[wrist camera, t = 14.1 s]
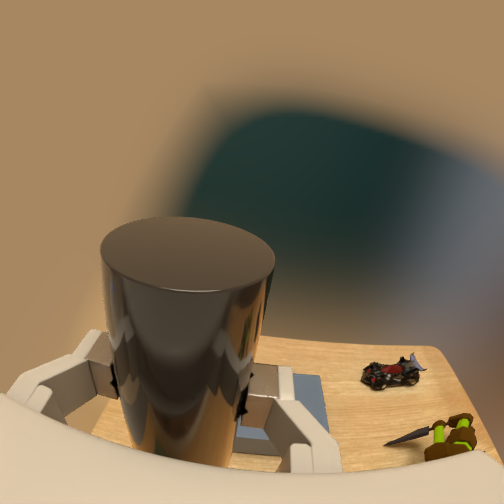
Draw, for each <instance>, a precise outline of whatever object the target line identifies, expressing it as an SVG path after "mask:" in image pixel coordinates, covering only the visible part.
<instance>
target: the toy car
mask: <svg viewBox="0 0 504 504" xmlns="http://www.w3.org/2000/svg"><path fill="white" fill-rule="evenodd" d="M413 353H414V352H413ZM413 353H412V354H411V355H410V360H406V359H404V357H400V361H399V362H398V363H397V364H394V365H384V364H380V363H379V364H378V362H377V363H375V362H373V363H370V365H369V366H367V367H365V368H364V369H363V370H365V373H364V374H363V376H362V379H361V380H362V381H364V382H367V383H370V384H372V387H374V388H376V389H380V390H383V389H385V388H386V387H389V386H400V385H406V384H409V385H414V384H416V383H417V382H418V381H419V378H420V375H419V372H418V371H419V370H420V371H425V370H427V369H423V368H422V367H421V366H420V365H419V363H418V362H417V361H416V359H415V356H414V354H413Z"/></svg>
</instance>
